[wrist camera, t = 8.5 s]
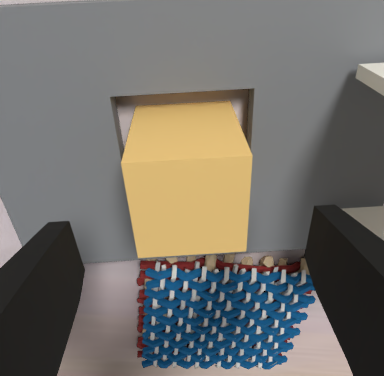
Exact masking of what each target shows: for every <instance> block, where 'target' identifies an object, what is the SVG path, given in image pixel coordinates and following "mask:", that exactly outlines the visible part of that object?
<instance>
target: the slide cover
mask: <svg viewBox="0 0 384 376" xmlns="http://www.w3.org/2000/svg"><path fill="white" fill-rule="evenodd" d="M355 78H356V79H358V80H359V81H361V82H363V83H364V84H366V85H367V86H369V87H370V88H372V89H374V90H375V91H377V92H378V93H380V94H381V95H383V96H384V63H368V64H358V68H357V73H356V77H355ZM342 210H343V211H345V212H346V213H347V214H349V215H350V216H352V217H353V218H354V219H356V220H357V221H358V222H360V223H361V224H362V225H364V226H365V227H366V228H368V229H369V230H370V231H372V232H373V233H374V234H376V235H377V236H378V237H380V238H381V239H382V240H384V206H374V207H359V208H343V209H342Z"/></svg>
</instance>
